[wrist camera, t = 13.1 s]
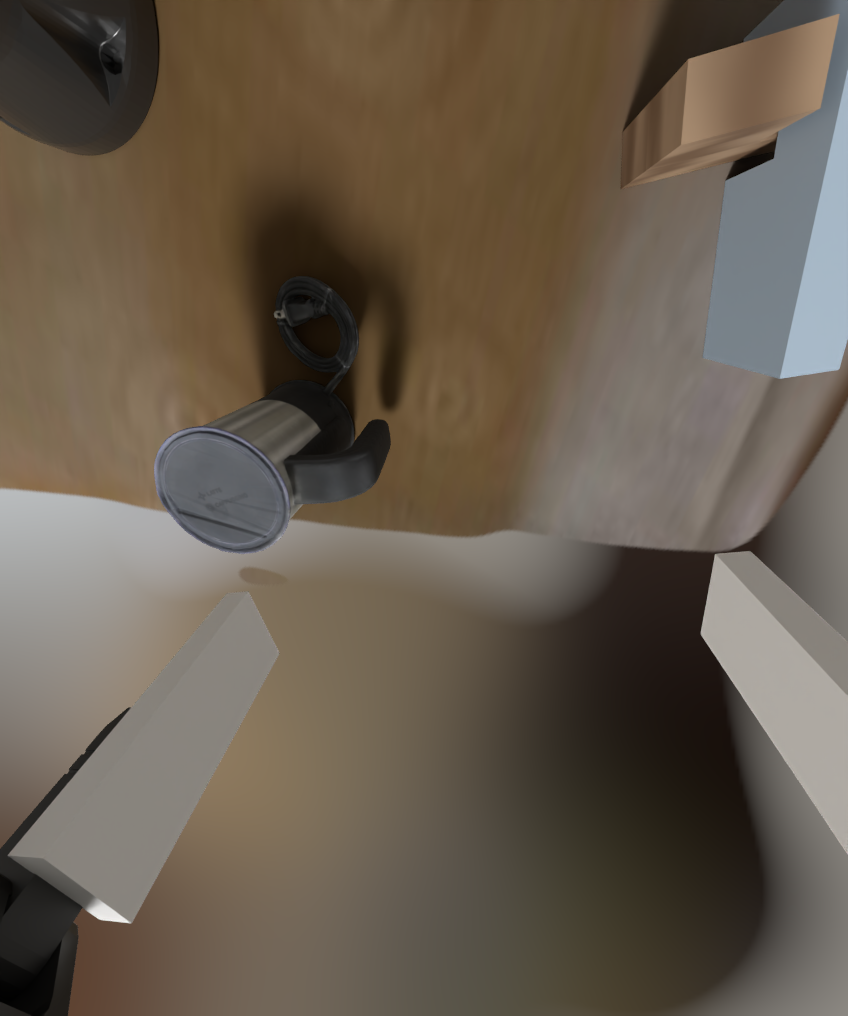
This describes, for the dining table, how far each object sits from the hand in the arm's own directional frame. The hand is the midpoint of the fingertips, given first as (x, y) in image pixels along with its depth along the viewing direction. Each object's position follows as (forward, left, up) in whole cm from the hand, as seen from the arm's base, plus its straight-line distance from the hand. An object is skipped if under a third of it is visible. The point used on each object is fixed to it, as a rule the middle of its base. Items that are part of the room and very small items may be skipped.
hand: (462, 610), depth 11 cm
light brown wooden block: (-14, +20, -27) cm, 36 cm away
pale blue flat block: (-9, +20, -27) cm, 35 cm away
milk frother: (-3, -14, -27) cm, 31 cm away
